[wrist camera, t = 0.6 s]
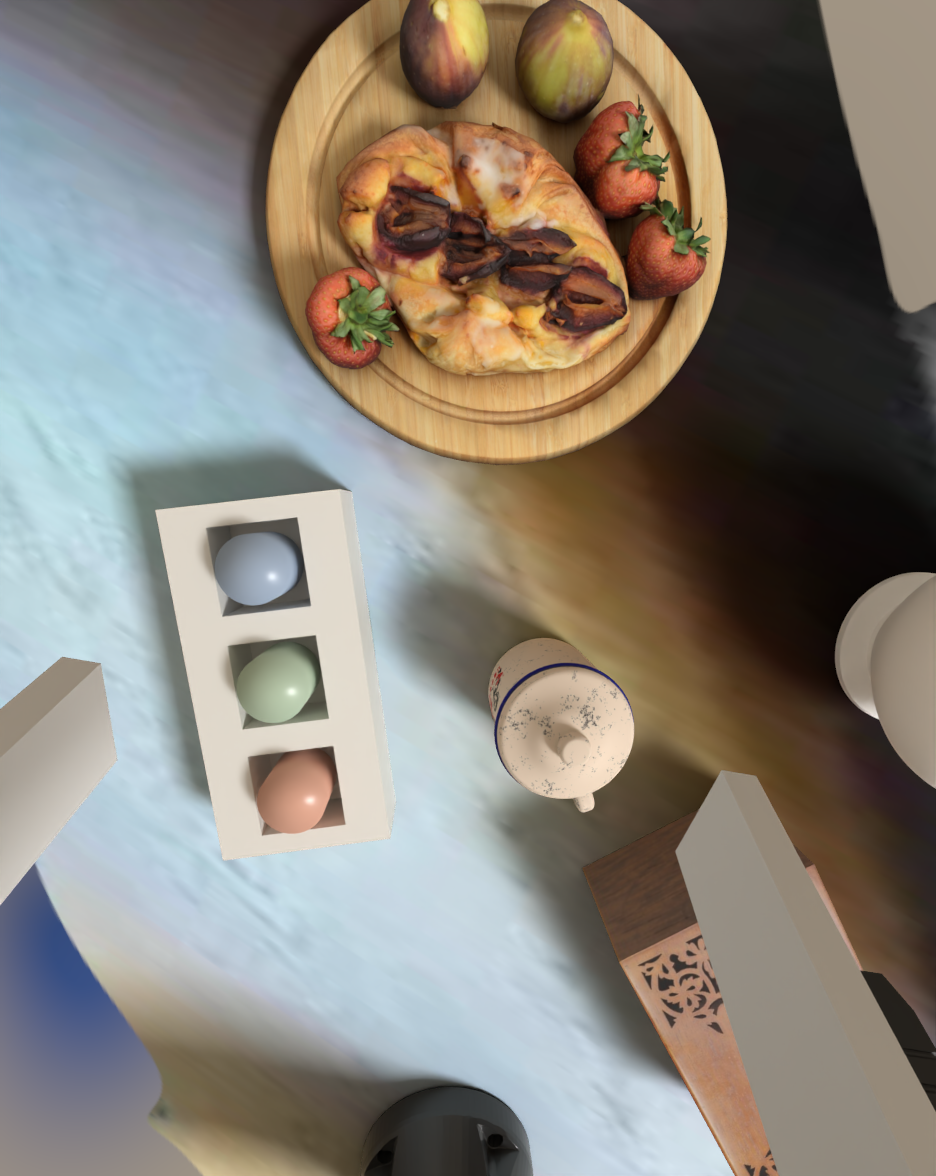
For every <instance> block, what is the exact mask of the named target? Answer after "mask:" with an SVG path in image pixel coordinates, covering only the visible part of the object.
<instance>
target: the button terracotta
mask: <svg viewBox="0 0 936 1176" xmlns="http://www.w3.org/2000/svg"><path fill="white" fill-rule="evenodd" d="M336 779H337V771H336V767H335V764H334V762H333V760H332V759H331V757H330V756H329V755H328V754H327V753H326V752H324V751H323V750H321V749H319V748H313V749H305V750H297V751H289V752H285V753H284V754H283V755H282V756H281V757H280V759H279V760H278V762H277V763H276V765H275V766H274V768H273V769H272V771H271V772H270V774H269V775H268V777H267V778H266V780H265V781H264V783H263V784H262V786H261V788H260V790H259V792H258V796H257V807H258V811H259V813H260V816H261V817H262V819H263V820H264V821H265V823H266V824H267V825H269V826H270V827H271V828H273V829H275V830H277V831H279V832H282V833H287V834H296V833H301V832H305V831H307V830H309V829H311V828H312V827H314V826H315V825H316V824H317V823H318V822H319V820H320V819H321V817H322V816H323V813H324V811H325V808H326V806H327V803H328V801H329V798H330V796H331V793H332V791H333V788H334V786H335V783H336Z"/></svg>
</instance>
